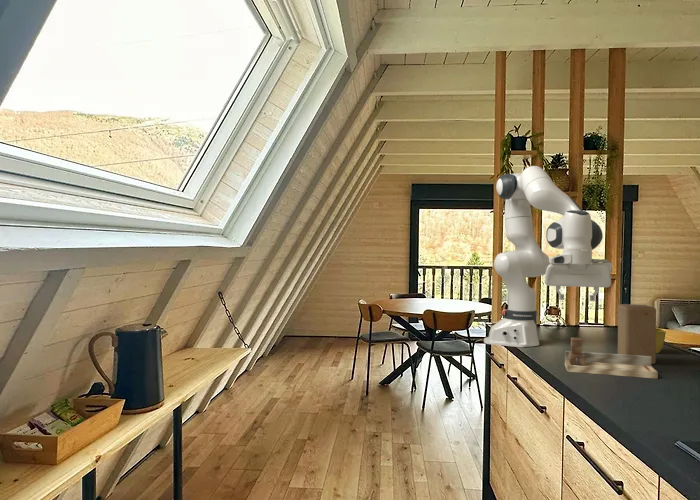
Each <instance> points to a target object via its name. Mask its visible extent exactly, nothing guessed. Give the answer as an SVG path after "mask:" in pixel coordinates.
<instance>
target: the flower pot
mask: <svg viewBox="0 0 700 500" xmlns="http://www.w3.org/2000/svg"><path fill="white" fill-rule="evenodd" d="M665 339H666V331H665V330H664V329H662V328H658V327H656V354H659V353H660V352H661V351H662V349H663V348H664V345H665Z"/></svg>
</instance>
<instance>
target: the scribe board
mask: <svg viewBox="0 0 700 500" xmlns="http://www.w3.org/2000/svg"><path fill="white" fill-rule="evenodd" d="M569 352H571V350H565V351H564V366H565V369H566V371H567V372H568V373H580V374H581V373H582V374H594V375H605V376H606V375H607V376H619V377H620V376H621V377H631V378H633V377H634V378H643V379H644V378H645V379H655V380H656V379H658V377H659V376H658V375H659V372H658V370H656V369H655V368H654V367H653V366H652V364H651V356H639V355H624V354H618V353H609V352H608V353H606V352H594V351H593V352H590V351H582V354H583V356H584V365H575V364H570V362H569Z"/></svg>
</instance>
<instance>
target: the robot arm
mask: <svg viewBox="0 0 700 500" xmlns="http://www.w3.org/2000/svg"><path fill="white" fill-rule="evenodd" d="M495 185H496V186H495V188H496V193H497V195H498V197H499V198H501V199H502V200H505V203H504V224H505V225H504V226H505V235H506V239H507V241H509V242H510V243H511V244H513V245H514V247H515V249H516V250H508V251H504V252H499V253H498V254H497V255H496V256H495V258H494V261H493V268H494V270H495V272H496V274H498V276H500V277H501V278H502V280H503V282H504V285H505V286H506V289H507V303H508V305H507V307H508V308H507V309H506V308H505V309H503V310H502V311H501V313H502V317H503V318H502V319H500V320H498V321H497V322H496V323H495V324H493V325H492V326H491V327H490V329H489V333H488V336H486V337H484V338H483V343H484V344H486V345H494V346H502V347H503V346H506V347H515V348H527V347H536V346H537V347H538V346H539V345H540V341H539V336H538V331H537V330H538V329H537V323H538V312H537V308H536V307H537V294H536V291H535V289H534V288H532V287H530V286H529V284H528V282H527V278H536V277H541V276H544V284H545V285H546V286H547V287H548V286H549V287H555V290H556V292H557V294H558V299H559V300H560V301H565V294H563V293H561V291H560V290H561V287H577V288H578V287H582V288H593V290H594V291H593V294H592V295H591V294H590V295H589V301H590V302H595V301H596V296H597V295H598V293H599V291H600V288H610V287H611V286H612V277H611V272H612V269H613V264H612V262H611V261H609V260H608V259H607V258H605V259H604V258H602V259H601V258H598V259H597V258H593V250H595V249H596V248H597V247H598V246H599V245H600V244H601V243H602V241H603V239H604V238H603V237H604V236H603V234H604V233H603V229H601V227H600V225H599V224H598V222H596V221H594V220H593V219H592V217H591V214H590V213H589V211H585V210H583V209H582V208H581V207H580V205H579V204H578V203H577V202H576V201H575V200H574V198H572V197H571V196H570V195H568V194H566V193H565V192H564V191H563V190H561V189H560V188H559V187H558V186H557V185H556V184H555V183H554V181H553V180H552V178H551V176H549V174H548V173H547V172H546V171H545V170H544V169H543V168H542V167H541V166H537V165H531V166H528V167H526V168H524V169H523V171H522V172H516V173H505V174H502V175H500V176H499V177H497V180H496V184H495ZM531 206H532V207H533V208H535V209H537V210H540V211H546V212H550V213H556V214H559V215H561V216H563V217H562V218H560V219H558V220H557V221H553V222H552V223H550V225H549V226H548V227H547V229H546V234H545V236H546V241H547V244H549V246H550V247H551V248H553V249H559V250H560V249H561V250H562V253H561V254H559V253H558V254H556V255H554V256H551V257H549V256H548V255H547V254H546V253H545V252H544V251H543V250H542V249H541V247H540V245H539V244H538V242H537V239H536V236H535V231H534V225H533V215H532V208H531Z"/></svg>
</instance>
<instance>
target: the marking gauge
mask: <svg viewBox="0 0 700 500" xmlns="http://www.w3.org/2000/svg"><path fill="white" fill-rule="evenodd" d="M582 343H583V339H582V337H581V338H580V337H570V351H571V352H569V362H570V364H575V365H584V356H583V354H582V352H583V351H582V349H583V344H582Z"/></svg>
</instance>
